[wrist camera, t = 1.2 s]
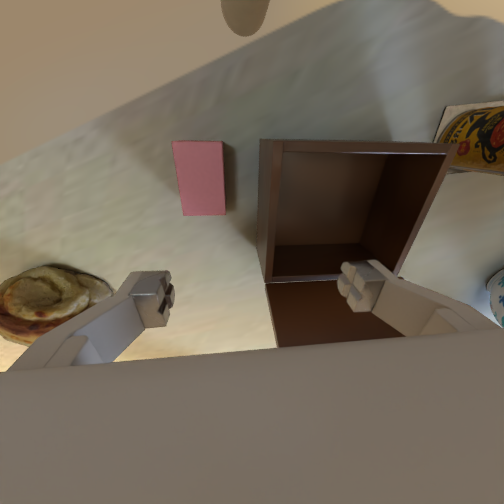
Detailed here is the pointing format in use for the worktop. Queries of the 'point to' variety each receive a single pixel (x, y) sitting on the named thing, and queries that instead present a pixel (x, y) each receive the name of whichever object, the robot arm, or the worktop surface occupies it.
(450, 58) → the worktop surface
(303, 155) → the chest
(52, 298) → the pastry
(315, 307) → the chest lid
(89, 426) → the robot arm
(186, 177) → the pink rectangular block
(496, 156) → the condiment
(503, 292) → the chinaware
